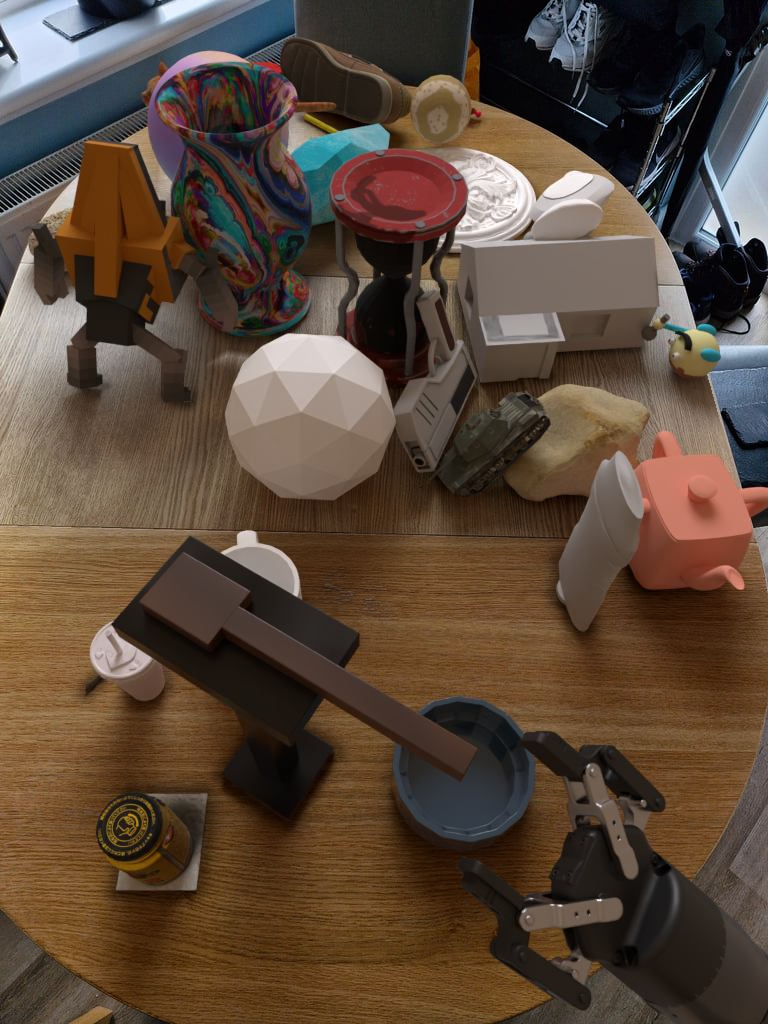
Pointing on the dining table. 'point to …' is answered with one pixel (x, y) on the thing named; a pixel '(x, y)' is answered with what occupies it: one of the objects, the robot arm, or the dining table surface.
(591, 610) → the tall pale column
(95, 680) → the stick
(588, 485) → the stone
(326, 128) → the pencil
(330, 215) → the crystal
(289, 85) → the vase
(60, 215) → the decorative item
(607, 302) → the miniature house
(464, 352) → the futuristic handgun
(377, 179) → the hourglass
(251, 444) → the geometric sculpture
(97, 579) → the dining table surface
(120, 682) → the smoothie
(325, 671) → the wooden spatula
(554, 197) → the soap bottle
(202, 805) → the condiment
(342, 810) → the dining table surface
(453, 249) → the ceiling medallion
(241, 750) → the black pedestal stand
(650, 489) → the teapot
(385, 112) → the boat shoe
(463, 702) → the bowl
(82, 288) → the toy robot
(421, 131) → the mushroom
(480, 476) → the toy tank
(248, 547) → the mug
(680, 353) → the figurine
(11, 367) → the dining table surface
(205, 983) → the dining table surface
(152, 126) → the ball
